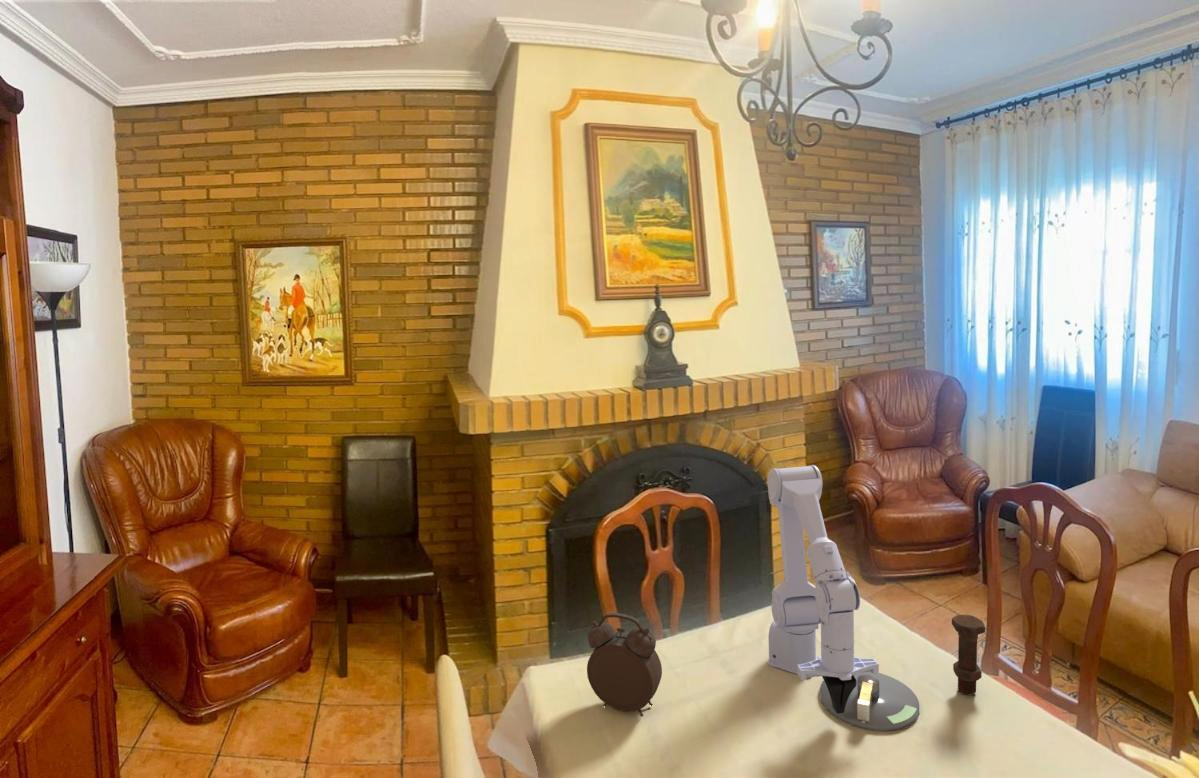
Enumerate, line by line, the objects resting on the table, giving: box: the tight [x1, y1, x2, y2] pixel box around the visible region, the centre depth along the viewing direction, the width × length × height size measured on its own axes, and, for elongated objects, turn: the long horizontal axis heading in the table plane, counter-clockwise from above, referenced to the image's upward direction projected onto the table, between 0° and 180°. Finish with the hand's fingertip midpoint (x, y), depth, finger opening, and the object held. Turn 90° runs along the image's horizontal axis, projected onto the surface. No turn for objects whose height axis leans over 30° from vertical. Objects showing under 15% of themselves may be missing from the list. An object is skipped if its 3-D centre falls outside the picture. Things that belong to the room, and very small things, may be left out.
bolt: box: [951, 614, 986, 695], centre depth 128 cm, size 6×5×15 cm
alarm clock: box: [586, 612, 663, 717], centre depth 130 cm, size 14×7×20 cm, turn 65°
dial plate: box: [819, 672, 920, 733], centre depth 129 cm, size 18×18×1 cm
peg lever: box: [857, 675, 879, 722], centre depth 125 cm, size 11×4×3 cm, turn 152°
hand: (838, 709), depth 122 cm, fingers closed
